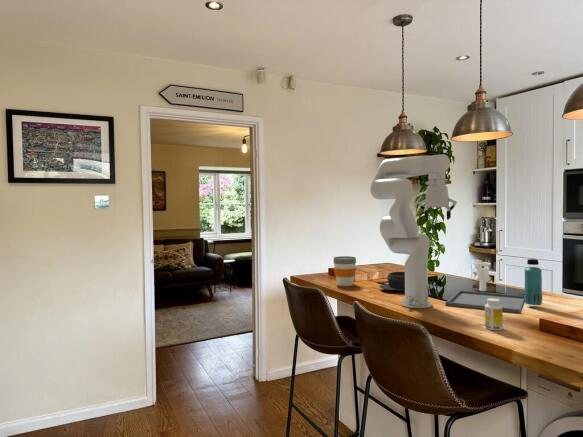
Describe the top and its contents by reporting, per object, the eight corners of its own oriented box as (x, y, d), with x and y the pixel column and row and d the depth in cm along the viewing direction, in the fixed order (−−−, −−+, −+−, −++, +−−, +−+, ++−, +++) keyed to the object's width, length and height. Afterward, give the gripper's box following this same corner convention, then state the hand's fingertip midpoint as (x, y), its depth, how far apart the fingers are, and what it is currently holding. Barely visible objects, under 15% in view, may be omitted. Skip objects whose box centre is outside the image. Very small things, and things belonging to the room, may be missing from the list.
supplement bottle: (504, 328, 145) (504, 299, 145) (499, 332, 141) (499, 302, 141) (487, 325, 149) (487, 297, 148) (482, 329, 145) (482, 299, 144)
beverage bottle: (533, 309, 169) (533, 260, 168) (520, 305, 175) (520, 258, 175) (546, 308, 171) (546, 259, 170) (532, 304, 177) (532, 257, 176)
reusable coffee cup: (344, 281, 240) (344, 255, 239) (361, 284, 230) (360, 257, 230) (329, 284, 232) (328, 257, 231) (345, 287, 222) (345, 259, 222)
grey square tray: (519, 313, 163) (519, 309, 163) (445, 305, 179) (445, 302, 179) (524, 299, 187) (524, 295, 187) (458, 293, 202) (458, 290, 202)
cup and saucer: (416, 285, 225) (416, 269, 224) (435, 292, 206) (435, 275, 206) (373, 288, 219) (373, 272, 219) (388, 295, 201) (388, 278, 201)
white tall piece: (479, 288, 212) (478, 259, 212) (493, 290, 207) (492, 260, 206) (472, 290, 208) (472, 260, 207) (486, 292, 202) (486, 261, 202)
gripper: (416, 184, 198) (417, 220, 198) (454, 182, 189) (455, 219, 190) (420, 184, 204) (420, 219, 205) (457, 182, 195) (458, 219, 196)
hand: (437, 219), depth 197 cm, fingers open, 9 cm apart
